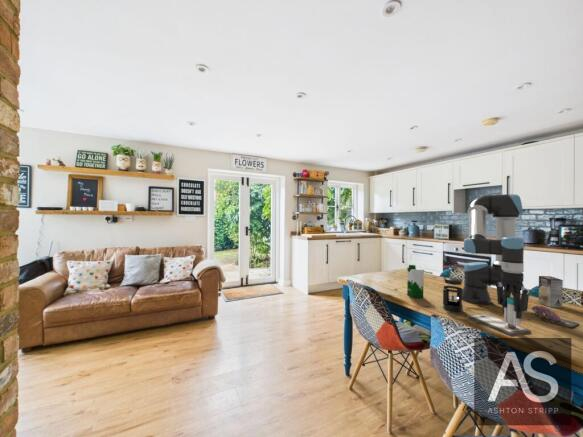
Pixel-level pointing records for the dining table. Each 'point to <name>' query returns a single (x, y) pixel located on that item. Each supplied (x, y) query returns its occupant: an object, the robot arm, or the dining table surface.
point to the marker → (510, 311)
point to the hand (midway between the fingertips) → (511, 323)
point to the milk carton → (415, 281)
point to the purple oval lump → (545, 312)
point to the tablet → (498, 324)
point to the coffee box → (550, 291)
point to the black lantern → (451, 304)
